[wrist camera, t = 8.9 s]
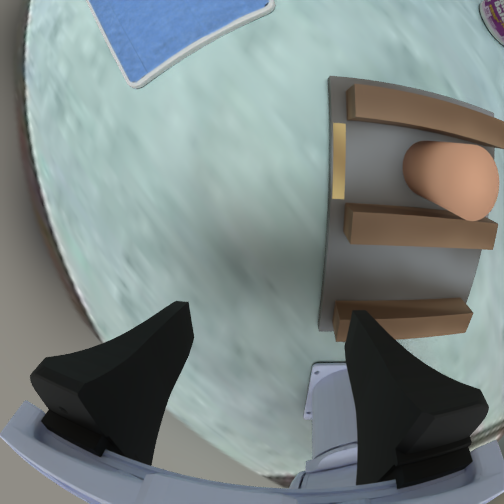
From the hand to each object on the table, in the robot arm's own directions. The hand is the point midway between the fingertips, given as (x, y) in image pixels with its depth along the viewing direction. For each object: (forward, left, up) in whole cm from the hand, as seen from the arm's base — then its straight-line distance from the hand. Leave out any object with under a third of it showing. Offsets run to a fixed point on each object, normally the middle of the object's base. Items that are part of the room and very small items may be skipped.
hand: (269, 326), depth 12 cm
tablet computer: (+24, +9, -10) cm, 28 cm away
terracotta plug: (+7, -10, -8) cm, 15 cm away
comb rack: (+3, -10, -9) cm, 14 cm away
